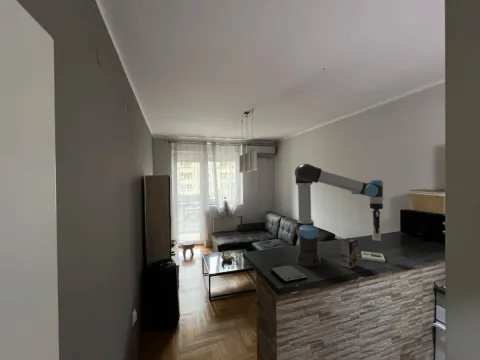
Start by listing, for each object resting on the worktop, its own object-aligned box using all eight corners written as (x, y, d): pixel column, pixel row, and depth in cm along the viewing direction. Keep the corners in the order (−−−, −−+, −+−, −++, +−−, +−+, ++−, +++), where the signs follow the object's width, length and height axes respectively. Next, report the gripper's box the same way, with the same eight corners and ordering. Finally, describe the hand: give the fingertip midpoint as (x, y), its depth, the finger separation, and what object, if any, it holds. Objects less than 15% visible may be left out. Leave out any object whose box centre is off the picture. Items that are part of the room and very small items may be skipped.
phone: (352, 257, 154) (352, 256, 154) (346, 251, 165) (346, 250, 165) (361, 257, 153) (361, 256, 153) (354, 252, 164) (354, 250, 164)
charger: (373, 240, 150) (373, 228, 150) (372, 238, 154) (372, 226, 153) (380, 240, 148) (380, 228, 148) (380, 239, 152) (380, 227, 151)
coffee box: (350, 268, 134) (350, 242, 134) (340, 265, 140) (340, 240, 139) (358, 265, 140) (358, 239, 139) (348, 261, 145) (348, 237, 144)
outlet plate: (362, 259, 149) (362, 256, 149) (361, 253, 160) (361, 251, 160) (385, 262, 143) (385, 259, 143) (382, 256, 154) (382, 253, 154)
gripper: (384, 204, 141) (384, 241, 141) (381, 201, 156) (381, 234, 157) (371, 204, 144) (371, 239, 145) (368, 201, 160) (368, 233, 160)
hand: (376, 236), depth 151 cm, fingers closed on charger, 4 cm apart
